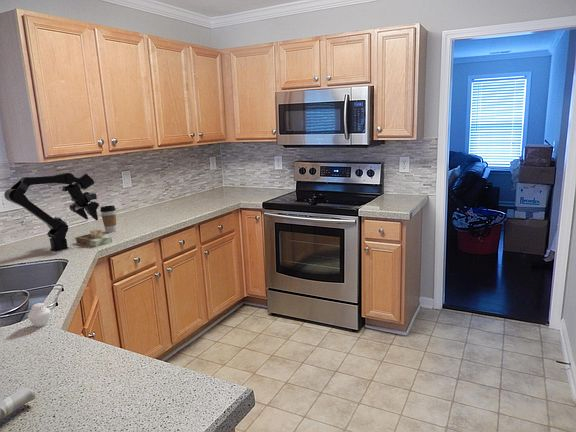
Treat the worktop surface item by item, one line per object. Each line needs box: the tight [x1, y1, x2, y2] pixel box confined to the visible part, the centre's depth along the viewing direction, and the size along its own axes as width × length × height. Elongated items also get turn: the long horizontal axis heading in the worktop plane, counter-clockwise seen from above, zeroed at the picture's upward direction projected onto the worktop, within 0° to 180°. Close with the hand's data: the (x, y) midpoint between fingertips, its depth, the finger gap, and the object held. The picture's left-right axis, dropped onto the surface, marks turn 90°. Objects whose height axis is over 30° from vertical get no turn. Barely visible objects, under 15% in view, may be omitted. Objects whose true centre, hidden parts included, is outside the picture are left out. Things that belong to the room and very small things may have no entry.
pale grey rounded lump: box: [27, 302, 51, 328], centre depth 132 cm, size 6×6×7 cm
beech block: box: [89, 228, 103, 239], centre depth 225 cm, size 4×4×4 cm
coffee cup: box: [99, 205, 117, 234], centre depth 250 cm, size 8×8×15 cm
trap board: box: [75, 233, 113, 248], centre depth 228 cm, size 9×18×3 cm, turn 56°
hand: (92, 219), depth 231 cm, fingers open, 9 cm apart
